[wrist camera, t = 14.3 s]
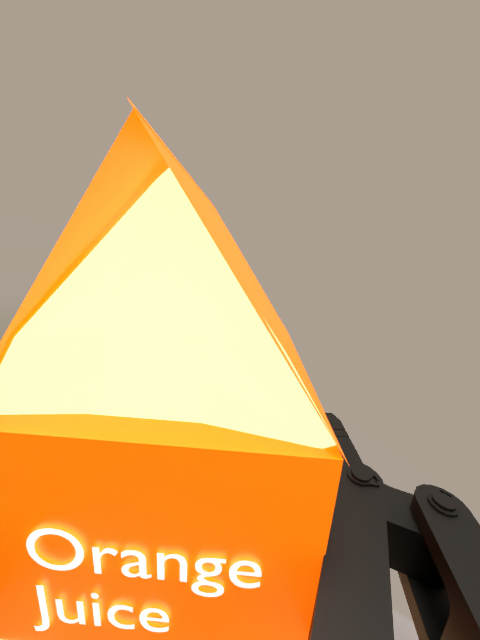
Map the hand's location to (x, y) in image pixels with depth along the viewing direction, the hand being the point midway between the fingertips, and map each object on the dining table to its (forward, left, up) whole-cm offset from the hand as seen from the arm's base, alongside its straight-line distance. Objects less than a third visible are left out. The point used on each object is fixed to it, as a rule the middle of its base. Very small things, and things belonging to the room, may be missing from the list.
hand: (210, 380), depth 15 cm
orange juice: (0, -5, -11) cm, 12 cm away
